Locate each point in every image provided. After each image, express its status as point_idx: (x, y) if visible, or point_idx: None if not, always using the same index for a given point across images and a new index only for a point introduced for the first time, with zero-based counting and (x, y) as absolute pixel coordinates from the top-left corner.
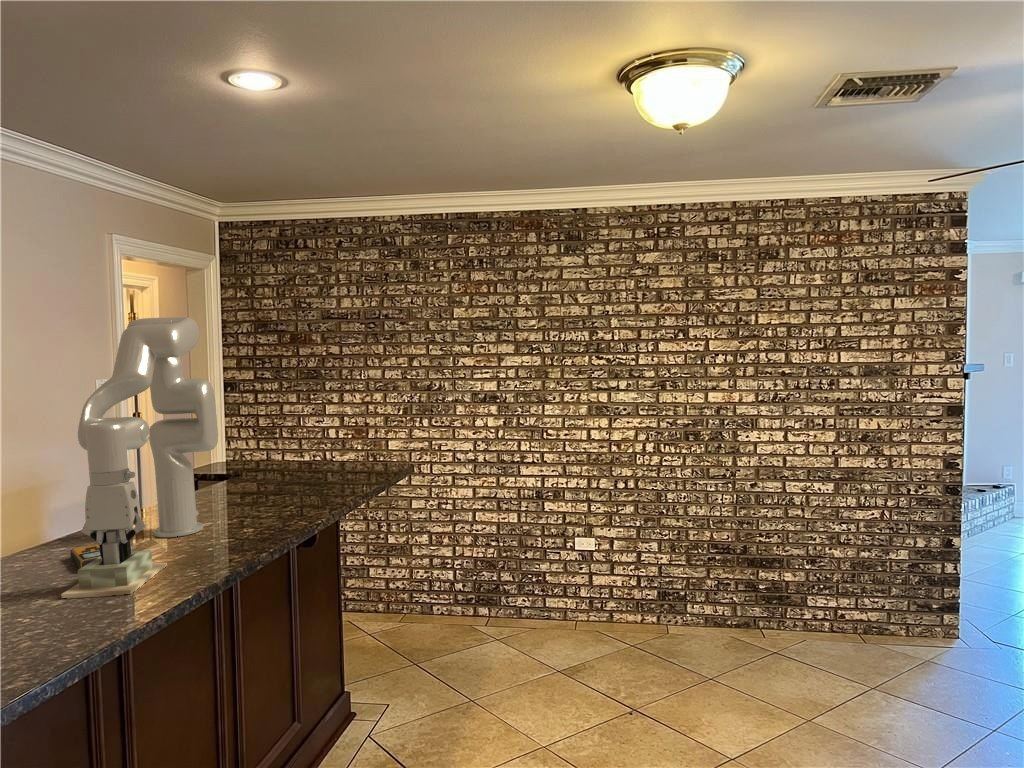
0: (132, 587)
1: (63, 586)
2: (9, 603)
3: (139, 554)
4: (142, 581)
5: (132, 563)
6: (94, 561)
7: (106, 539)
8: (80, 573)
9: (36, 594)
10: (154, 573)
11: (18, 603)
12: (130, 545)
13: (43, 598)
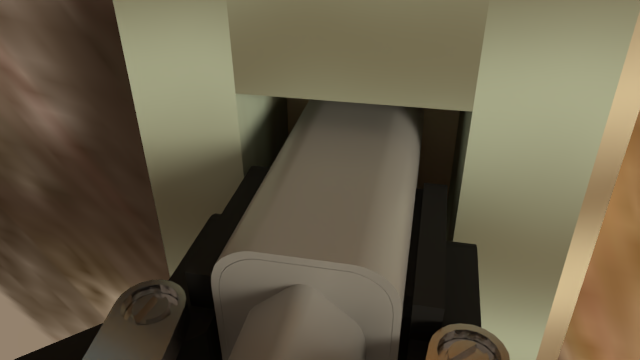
0: (547, 358)
1: (69, 134)
2: (7, 293)
3: (531, 138)
4: (584, 274)
5: (536, 354)
6: (181, 227)
7: (196, 357)
8: None
9: (27, 219)
10: (637, 98)
11: (46, 304)
12: (479, 304)
13: (108, 280)
